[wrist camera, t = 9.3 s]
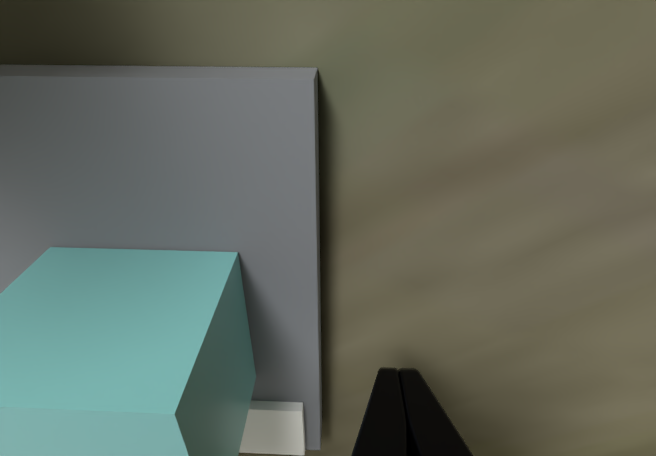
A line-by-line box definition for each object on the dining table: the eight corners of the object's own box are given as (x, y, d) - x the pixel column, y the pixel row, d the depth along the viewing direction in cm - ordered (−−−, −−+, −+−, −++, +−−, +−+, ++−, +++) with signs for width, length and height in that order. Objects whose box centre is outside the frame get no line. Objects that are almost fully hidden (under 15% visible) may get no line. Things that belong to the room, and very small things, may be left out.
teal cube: (238, 252, 9) (174, 413, 6) (256, 376, 12) (218, 542, 8) (50, 246, 9) (-116, 401, 6) (105, 370, 12) (8, 531, 8)
